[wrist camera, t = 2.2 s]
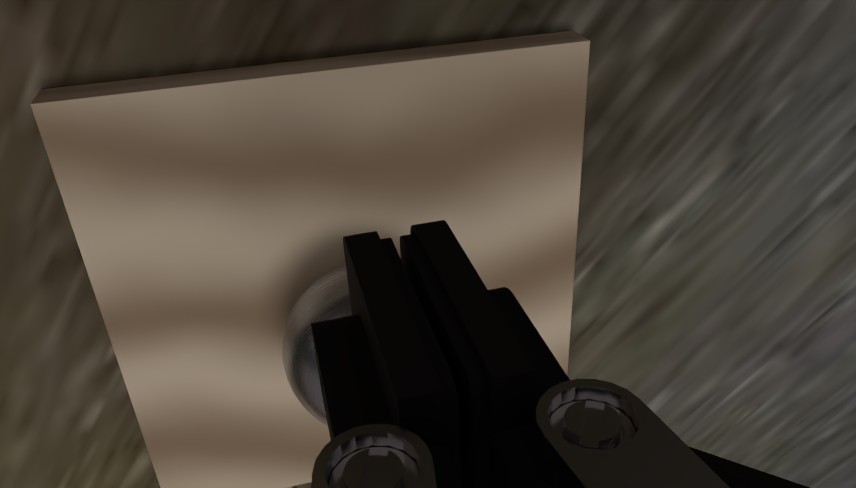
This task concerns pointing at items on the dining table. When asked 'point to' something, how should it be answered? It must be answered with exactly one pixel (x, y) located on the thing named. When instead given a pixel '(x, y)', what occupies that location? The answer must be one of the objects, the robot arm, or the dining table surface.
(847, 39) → the dining table surface
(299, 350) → the steel ball
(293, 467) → the wooden recessed tray
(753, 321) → the dining table surface
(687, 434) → the dining table surface
